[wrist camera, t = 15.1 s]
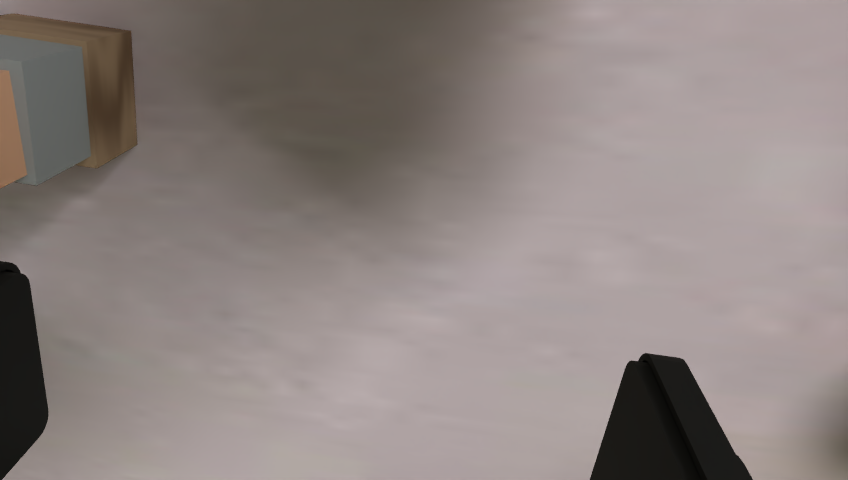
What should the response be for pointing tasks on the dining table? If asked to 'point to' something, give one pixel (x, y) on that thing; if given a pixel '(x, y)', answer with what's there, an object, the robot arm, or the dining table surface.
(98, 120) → the walnut base block
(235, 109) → the dining table surface
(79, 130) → the slate top block
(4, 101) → the terracotta block
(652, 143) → the dining table surface
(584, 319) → the dining table surface
